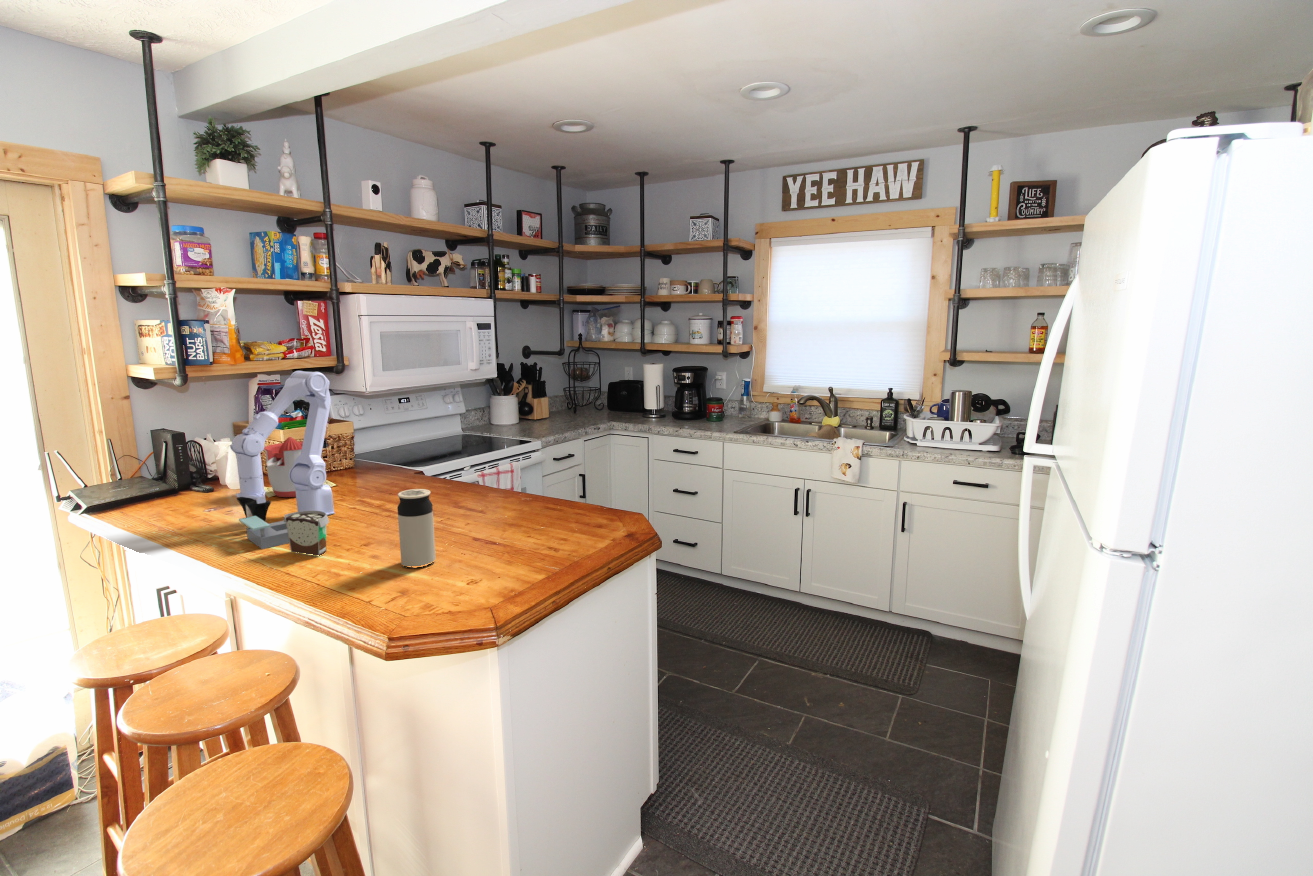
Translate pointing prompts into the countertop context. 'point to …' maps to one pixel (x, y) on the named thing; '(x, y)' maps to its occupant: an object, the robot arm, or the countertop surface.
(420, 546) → the travel mug
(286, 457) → the citrus juicer
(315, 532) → the food container
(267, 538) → the socket block
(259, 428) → the robot arm
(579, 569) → the countertop surface
